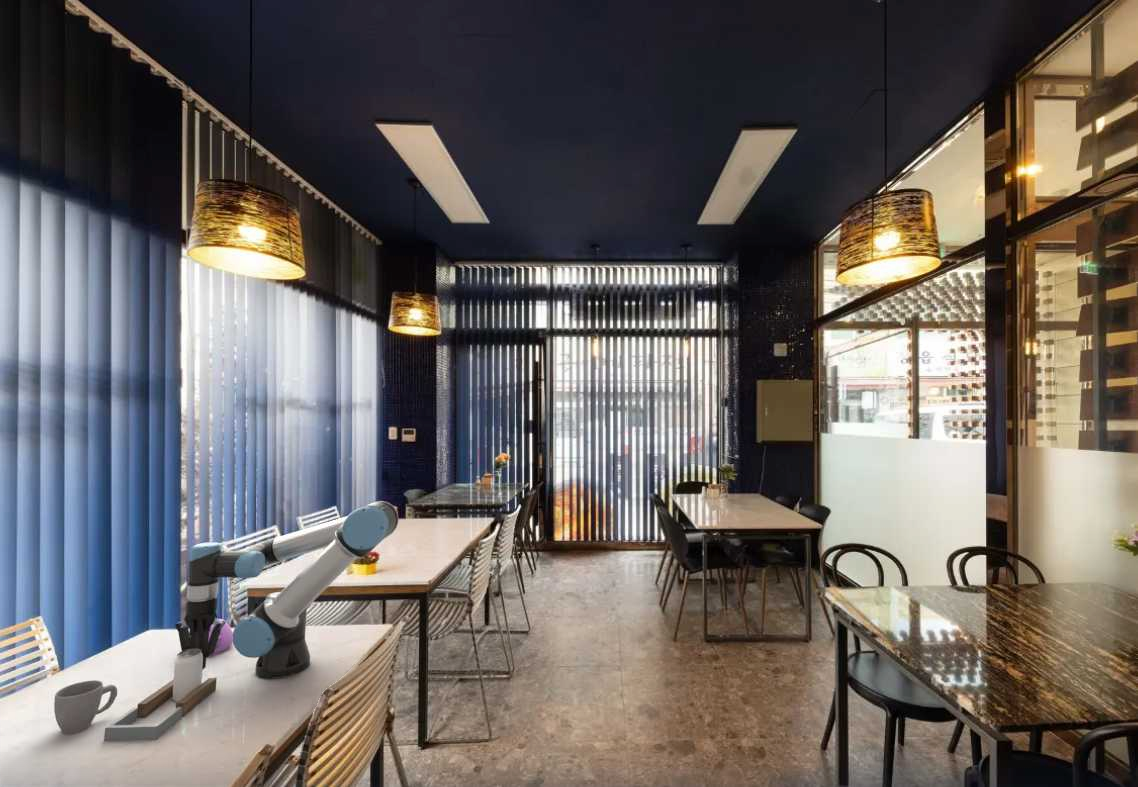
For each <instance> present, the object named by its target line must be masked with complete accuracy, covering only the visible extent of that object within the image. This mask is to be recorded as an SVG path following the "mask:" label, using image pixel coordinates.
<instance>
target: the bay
mask: <svg viewBox="0 0 1138 787" xmlns="http://www.w3.org/2000/svg"><path fill="white" fill-rule="evenodd" d="M137 710H138V708H137V707H133V708H132V709H130V710H129V711H127V712H126V713H124V714H123V715H122V716H120V717H118V718H117V719H116V720H114V721H113V722H111V723H110V724H108V725H107V726H105V727H104V736H103V742H110V741H111V742H112V741H150V740H151V741H152V740H153V741H154V740H158V739H159V738H160V737H162V736H163V735H165V733H167V731H170V729H171V728H172V727H174V726H175V725H176V724H177V723H178V722H180V721H181V720H182V719H183V717H182V707H178V708H176V707H175V709H174V710H172V711H171V712H170V713H168V714H167V715H166V716H165V717H164V718H162V719H160V720H159V721H158V722H157V723H154V724H153V723H151V724H134V723H135V722H136V721H137V720H138V718H137Z"/></svg>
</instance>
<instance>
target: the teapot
mask: <svg viewBox="0 0 1138 787" xmlns="http://www.w3.org/2000/svg"><path fill="white" fill-rule="evenodd" d="M217 619H218V620H220V621H225V624H224V626H223V627H222V628H221V631H220V634H219V638H218V641H217V644H216V647H215V651H214V653H213V654H211V655H210V656H213V655H218V654H220V653H222V652H225V651H227V650H228V649H229V648H230V647H231V645H233V631H232V628H231V626H230V625H229V623H228V622H227V621H226V620H225V619H221V618H217ZM213 625H214V623H213V624H212V626H211V627H210V632H209V639H210V636H211V633H212V630H213V629H214V628H213ZM208 642H209V641H208Z"/></svg>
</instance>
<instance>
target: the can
mask: <svg viewBox="0 0 1138 787" xmlns="http://www.w3.org/2000/svg"><path fill="white" fill-rule="evenodd" d="M201 651H202V650H201V649H188V650H185V651H180V652H179V653H177V655H176V656H177V657H176V658H175V660H174V666H173V667H174V668H173V679H174V681H173V698H172V700H173V701H174V702H176V703H177V702H178V701H180V700H181V699H182V698H183V697H185V696H186V695H187V694H189V693H190V692H191V691H193V690H194V689H195V688H197V687H198V686H199V685H201V684H202V683H203V681H202V680H203V673H202V667H203V654H202V653H201Z"/></svg>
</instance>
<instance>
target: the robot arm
mask: <svg viewBox="0 0 1138 787" xmlns="http://www.w3.org/2000/svg"><path fill="white" fill-rule="evenodd" d="M398 524H399V514H398V511H397V509H396V507H395V506H394V505H393V504H391V503H390V502H388V501H383V500H378V501H373V502H371V503H368V504H367V505H362V506H360V507H357V508H356V509H354V510H353V511H351V512H350V513H349V514H348V515H347V516H344V517H340V518H337V519H334V520H331V521H328V522H324V523H321V524H317V525H314V526H310V527H308V528H304V529H300V530H297V531H294V532H289V533H287V534H285V535H280V536H278V537H274V538H272V539H271V538H270V539H265V540H263V541H259V542H258V543H256V544H254V545H250V546H248V547H245V548H243V549H241V550H223V548H222V544H221V543H219V542H216V541H215V542H213V541H211V542H210V541H209V542H201V543H197V544H195V545H193V546H192V547H191V548H190V552H189V559H188V580H187V588H186V589H187V590H186V599H187V600H186V601H185V614H186V615H185V616H184V619H183V620H181V621H179V622H177V623H175V625H174V627H175V629H176V630H177V632H178V638H179V643H180V645H179V646H180V650H181V651H180V652H182V651H185V650H188V649H201V650H202V651H201V653H202V654H203V667H202V674H203V670H205V668H206V666H207V658H208V657H210V656H212V655H211V654H213V653H214V651H215V647H216V644H217V641H218V638H219V634H220V631H221V628H222V627H223V626H224V624H225V621H226V620H225V621H220V620H218V619H219V618H218V614H217V608H218V601H219V600H218V596H217V595H218V593H219V585H220V583H219V582H220V578H227V579H228V578H230V579H231V578H232V579H233V578H235V579H250V578H257V577H258V576H260V575H261V573H262V572H264V571H263V570H264V568H265V567H267V566H269V565H273V564H276V563H280V562H282V561H285V560H289V559H293V558H296V557H298V556H302V555H305V554H309V553H311V552H315V551H318V550H322V549H323V550H322V551H321V552H320V553H319V554H318V555H317V556H316V557H315V558H314V559H313V560H312V561H311V562H310V563H309V564H308V565H307V566H306V567H305V568H303V569H302V571H301V572H299V574H297V576H295V578H294V579H292V580H291V581H290V582H289V583H288V585H286V587H284V588H283V589H282V590H281V591H277V592H272V593H269V594H267V595H266V597H265V600H264V601H263V602H262V603H260V604H259V606H258V607H256V608H255V609H254V610H253V611H252V612H251V613H250V614H248V615H247V616H245V617H243V618H242V619H240V621H238V623H237V624H236V625H235V627H234V629H233V631H232V632H233V643H232V645H233V646H234V648H235V649H236V652H238V653H239V654H240V655H242V656H244V658H251V659H256V658H257V661H256V664H255V675H256V677H259V678H263V679H280V678H285V677H290V676H292V675H295V674H298V673H300V672H303V671H304V670H306V669H307V668H308V667H309V666H310V664H311V654H310V653H311V652H310V651H309V648H308V644H307V641H306V627H307V626H306V625H307V609H308V607H309V606H310V605H311V604H312V603H313V602H314V601H315V600H316V599H317V598H318V597H319V596H320V595H321V594H322V593H324V591H325V590H326V589H328V587H329V586H330V585H331V584H332V583H333V582H334V581H335V580H336V579H337V578H338V577H339V576H341V575H342V573H344V571H345V570H346V569H348V568H349V566H350V565H351V564H353V563H354V561H356V560H357V559H364V558H366V557H367V556H368V555H369V554H371V552H372V551H373V550H374V549H375V548H376V547H377V546H378V545H379V544H380V543H381V542H383V541H384V540H385V539H386V538H388V537H389V536H391V535H392V534H393V533H394V532H395V530H396V529H397V527H398ZM213 623H214V625H213V628H214V629H213V630H212V633H211V636H210V639H209V632H210V627H211V626H212V624H213ZM208 641H209V642H208ZM305 668H306V669H305Z"/></svg>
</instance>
